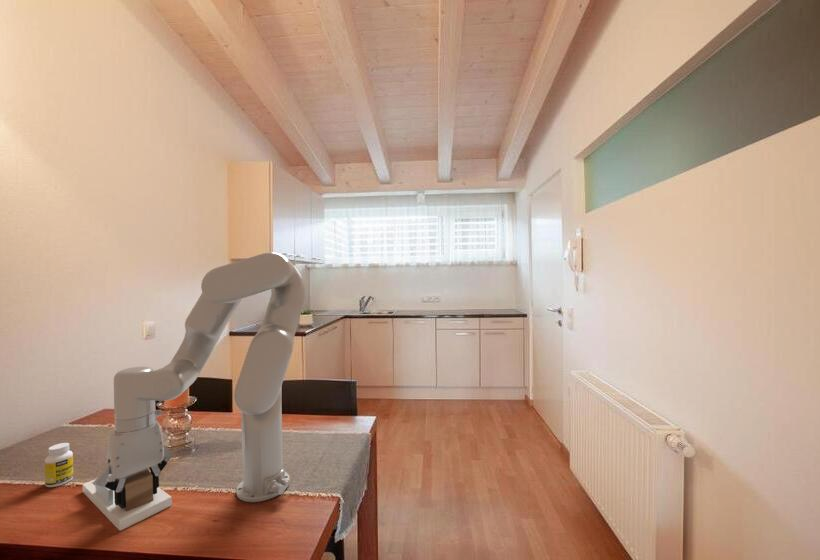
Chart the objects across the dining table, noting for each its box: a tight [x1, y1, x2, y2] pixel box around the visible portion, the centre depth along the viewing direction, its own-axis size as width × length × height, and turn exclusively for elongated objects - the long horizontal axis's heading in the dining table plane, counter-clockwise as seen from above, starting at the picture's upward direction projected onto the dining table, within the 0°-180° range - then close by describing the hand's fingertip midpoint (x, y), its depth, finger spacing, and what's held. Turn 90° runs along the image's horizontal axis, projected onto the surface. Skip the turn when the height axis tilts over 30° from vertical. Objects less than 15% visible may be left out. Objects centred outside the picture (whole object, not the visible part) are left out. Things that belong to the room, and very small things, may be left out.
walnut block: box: [123, 468, 153, 512], centre depth 82 cm, size 5×5×6 cm
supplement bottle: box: [44, 442, 74, 488], centre depth 95 cm, size 5×5×10 cm
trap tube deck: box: [82, 474, 173, 531], centre depth 87 cm, size 26×10×6 cm, turn 56°
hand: (137, 498), depth 82 cm, fingers closed on walnut block, 5 cm apart
